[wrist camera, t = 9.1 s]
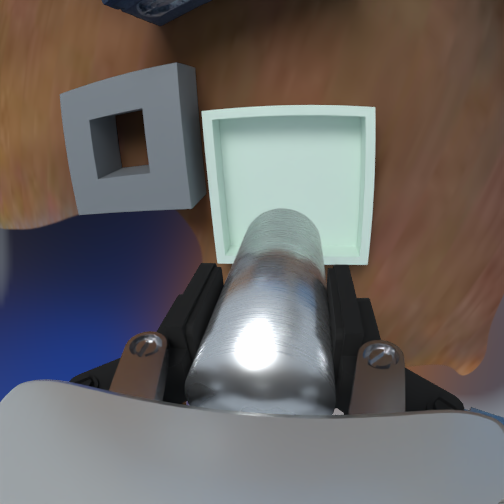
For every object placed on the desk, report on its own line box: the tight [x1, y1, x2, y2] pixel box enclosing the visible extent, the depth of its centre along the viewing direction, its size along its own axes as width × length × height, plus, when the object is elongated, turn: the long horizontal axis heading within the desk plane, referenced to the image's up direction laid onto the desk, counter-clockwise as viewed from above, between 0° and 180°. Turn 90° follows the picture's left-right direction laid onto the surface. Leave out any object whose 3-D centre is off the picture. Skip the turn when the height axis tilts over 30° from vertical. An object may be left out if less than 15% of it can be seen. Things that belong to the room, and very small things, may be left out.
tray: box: [201, 105, 375, 265], centre depth 27 cm, size 14×14×3 cm
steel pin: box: [185, 208, 336, 415], centre depth 12 cm, size 4×4×10 cm
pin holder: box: [60, 63, 207, 215], centre depth 26 cm, size 12×12×4 cm
